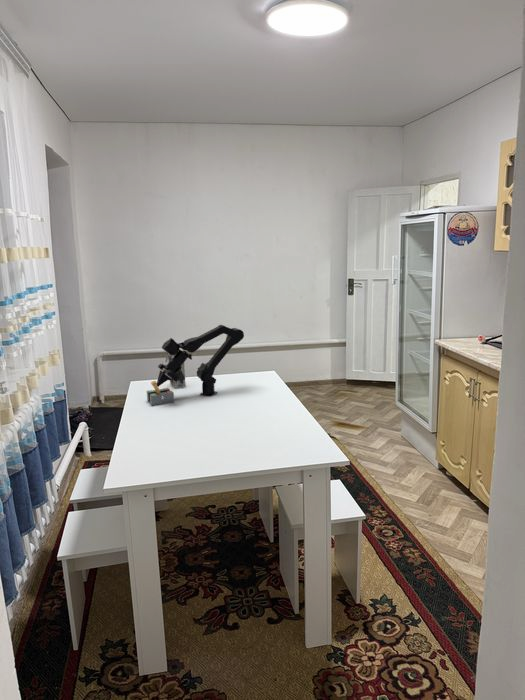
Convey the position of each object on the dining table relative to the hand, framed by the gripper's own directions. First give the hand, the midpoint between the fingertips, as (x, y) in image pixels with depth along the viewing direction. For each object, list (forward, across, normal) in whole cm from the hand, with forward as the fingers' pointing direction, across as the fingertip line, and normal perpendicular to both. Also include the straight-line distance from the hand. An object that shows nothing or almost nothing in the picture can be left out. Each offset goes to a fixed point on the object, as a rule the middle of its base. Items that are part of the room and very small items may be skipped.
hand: (157, 386), depth 256 cm
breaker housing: (+5, 0, -7) cm, 8 cm away
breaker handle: (+3, 0, -4) cm, 5 cm away
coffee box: (-6, +23, -18) cm, 29 cm away
